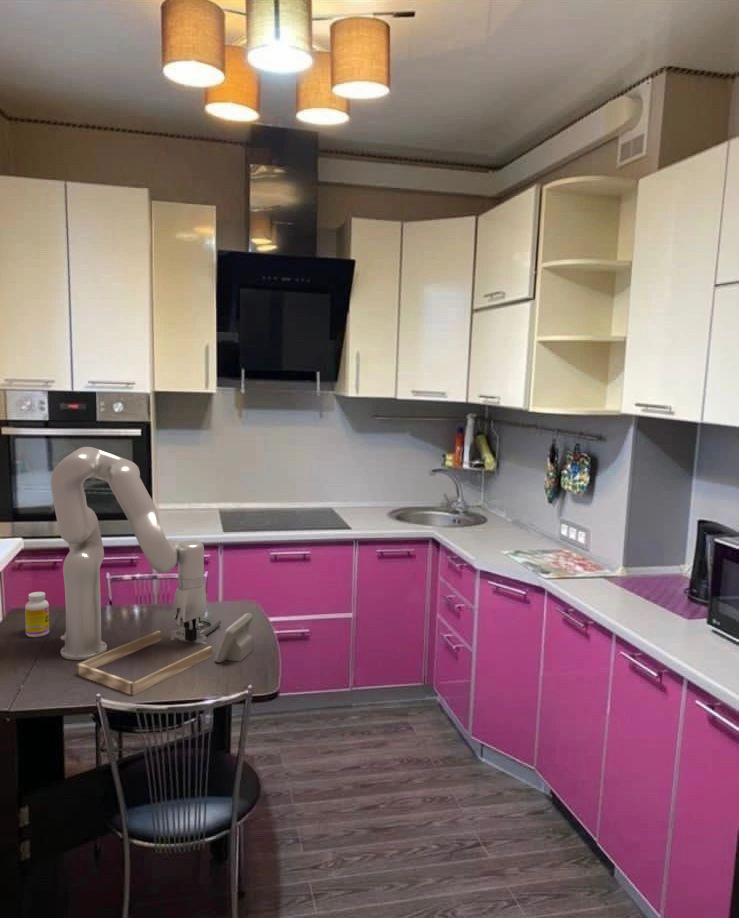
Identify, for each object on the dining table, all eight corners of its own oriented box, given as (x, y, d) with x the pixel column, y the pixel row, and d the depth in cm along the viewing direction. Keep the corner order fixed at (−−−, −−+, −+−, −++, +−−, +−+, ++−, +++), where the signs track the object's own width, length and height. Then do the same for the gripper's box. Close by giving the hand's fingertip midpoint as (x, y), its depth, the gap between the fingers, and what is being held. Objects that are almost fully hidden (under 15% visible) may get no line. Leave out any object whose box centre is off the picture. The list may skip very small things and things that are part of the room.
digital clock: (239, 642, 211) (239, 609, 209) (263, 648, 207) (263, 614, 206) (205, 661, 196) (205, 626, 195) (230, 667, 192) (231, 632, 191)
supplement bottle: (48, 636, 209) (47, 596, 208) (24, 639, 207) (23, 598, 205) (50, 628, 216) (49, 589, 214) (27, 631, 213) (25, 591, 211)
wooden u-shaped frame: (76, 674, 184) (76, 664, 184) (158, 639, 210) (158, 630, 210) (133, 695, 174) (132, 684, 173) (212, 656, 199) (212, 646, 199)
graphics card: (204, 636, 206) (169, 630, 209) (204, 648, 207) (169, 642, 210) (229, 618, 223) (197, 613, 226) (229, 629, 223) (196, 624, 226)
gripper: (199, 574, 213) (199, 629, 215) (163, 586, 200) (163, 645, 202) (217, 578, 209) (216, 635, 211) (182, 590, 196) (182, 651, 198)
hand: (190, 639), depth 207 cm, fingers closed
